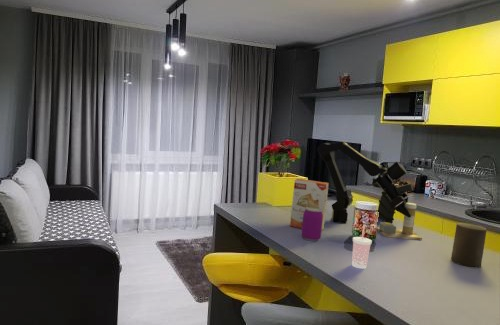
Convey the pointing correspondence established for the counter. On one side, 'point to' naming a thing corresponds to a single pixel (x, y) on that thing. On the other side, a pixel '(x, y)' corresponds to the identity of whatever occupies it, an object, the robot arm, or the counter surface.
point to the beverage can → (312, 224)
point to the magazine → (385, 209)
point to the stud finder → (387, 227)
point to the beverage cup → (360, 251)
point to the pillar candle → (468, 244)
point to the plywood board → (400, 234)
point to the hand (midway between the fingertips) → (411, 215)
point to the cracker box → (308, 199)
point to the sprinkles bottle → (409, 219)
